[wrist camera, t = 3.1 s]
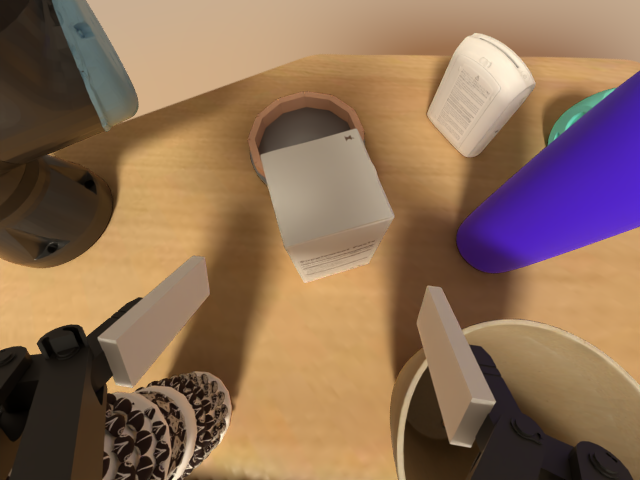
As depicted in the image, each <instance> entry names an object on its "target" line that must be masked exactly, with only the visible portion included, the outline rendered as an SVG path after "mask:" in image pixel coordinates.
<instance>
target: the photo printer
mask: <svg viewBox="0 0 640 480" xmlns="http://www.w3.org/2000/svg"><path fill="white" fill-rule="evenodd" d="M535 85H536V83H535V81H534V78H533V76H532V74H531V72H530V71H529V69H528V68H527V66H526V65H525V63H524V62H523V61H522V60H521V59H520V58H519V57H518V55H517V54H516V53H515V52H513V51H512V50H511V49H510V48H509V47H507V46H506V45H504V44H503V43H501V42H500V41H498V40H496V39H494V38H492V37H490V36H487V35H483V34H479V33H474V34H473V35H471V36H468V37H466V38H465V39H464V40H463V42H462V43H461V44H460V45H459V46H458V48H457V49H456V51H455V52H454V54H453V56H452V58H451V60H450V63H449V65H448V67H447V69H446V72H445V74H444V76H443V78H442V81H441V83H440V85H439V87H438V90H437V92H436V94H435V96H434V98H433V101H432V103H431V105H430V107H429V110H428V112H427V116H428V118H429V120H430V121H431V122H432V123H433V124H434V126H435V127H436V128H437V129H438V130H439V131H440V132H441V133H442V134H443V136H444V137H445V138H446V139H447V140H448V141H449V142H450V143H451V144H452V145H453V146H454V147H455V148H456V149H457V150H458V151H459V152H460V153H461V154H462V155H463V156H465V157H475V156H477V155H479V154H480V153H481V152H482V151H483V150H484V149H485V147H486V146H487V145H488V144H489V143H490V141H491V140H492V139H493V138H494V137H495V136H496V134H497V133H498V132H499V131H500V130H501V129H502V127H503V126H504V125H505V124H506V123H507V121H508V120H509V119H510V118H511V117H512V115H513V114H514V113H515V112H516V111H517V110H518V108H519V107H520V106H521V105H522V104H523V102H524V101H525V100H526V98H527V97H528V96H529V94H530V93H531V92H532V91H533V89H534V87H535Z"/></svg>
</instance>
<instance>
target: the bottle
mask: <svg viewBox="0 0 640 480" xmlns="http://www.w3.org/2000/svg"><path fill="white" fill-rule="evenodd" d="M637 227H640V71H639V72H637V73H636V74H635V75H633V76H632V77H631V78H629V79H628V80H627V81H625V82H624V83H623V84H621V85H620V86H619V87H617V88H616V89H615V90H614V91H613V92H611V93H610V94H609V95H608V96H606V97H605V98H604V99H603V100H601V101H600V102H599V103H598V104H597V105H595V106H594V107H593V108H592V109H590V110H589V111H588V112H587V113H586V114H584V115H583V116H582V117H581V118H580V119H578V120H577V121H576V122H575V123H574V124H573V125H571V126H570V127H569V128H568V129H567V130H565V131H564V132H563V133H562V134H561V135H560V136H558V137H557V138H556V139H555V140H554V141H553V142H551V143H550V144H549V145H548V146H547V147H545V148H544V149H543V150H542V151H541V152H540V153H539V154H537V155H536V156H535V157H534V158H533V159H532V160H530V161H529V162H528V163H527V164H526V165H525V166H524V167H522V168H521V169H520V170H519V171H518V172H517V173H516V174H514V175H513V176H512V177H511V178H510V179H509V180H508V181H506V182H505V183H504V184H503V185H502V186H501V187H500V188H499V189H497V190H496V191H495V192H494V193H493V194H492V195H491V196H490V197H488V198H487V199H486V200H485V201H484V202H483V203H482V204H481V205H480V206H479V207H477V208H476V209H475V210H474V211H473V212H472V213H471V214H470V215H469V216H468V217H467V218H466V219H465V220H464V221H463V223H462V224H461V226H460V227H459V229H458V232H457V236H456V242H457V246H458V249H459V252H460V254H461V255H462V257H463V258H464V259H465V260H466V261H467V262H468V263H469V264H470V265H471V266H473V267H474V268H476V269H478V270H480V271H483V272H487V273H502V272H507V271H511V270H515V269H518V268H522V267H525V266H528V265H531V264H534V263H537V262H540V261H543V260H546V259H549V258H552V257H555V256H558V255H560V254H563V253H566V252H569V251H572V250H575V249H578V248H581V247H584V246H586V245H589V244H592V243H595V242H598V241H601V240H603V239H606V238H609V237H612V236H615V235H617V234H620V233H623V232H626V231H629V230H632V229H634V228H637Z"/></svg>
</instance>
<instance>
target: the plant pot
mask: <svg viewBox="0 0 640 480" xmlns="http://www.w3.org/2000/svg"><path fill="white" fill-rule="evenodd" d="M461 330H462V332H463V334H464V336H465V338H466V340H467V342H468V344H469V345H476V346H481V347H482V348H483V349H484V350H485V351H486V352H487V353H488V354H489V355H490V356H491V357H492V359H493V361H494V363H495V365H496V368H497V369H498V370H499V372H500V374H501V377H502V378H503V379H504V381H505V383H506V385H507V387H508V389H509V390H510V392H511V394H512V396H513V398H514V400H515V401H516V403H517V405H518V407H519V409H520V411H521V412H522V413H523V414H525V415H527V416H529V417H530V418H531V419H532V420H534V421H535V422H536V423H537V424H538V425H539V427H540V428H541V429H542V430H543V432H544V433H545V434H547V435H548V436H550V437H553V438H555V439H557V440H559V441H562V442H564V443H566V444H568V445H571V446H573V447H575V446H576V445H577V444H578V443H579V442H581V441H589V442H592V443H595V444H597V445H600V446H601V447H603V448H604V449H606V450H608V451H609V452H611V453H612V454H613V455H614V456H615V457H616V458H618V459H619V460H620V461H621V462H622V463H623V465H624V466H625V467H626V468H627V469H628V470H629V472H630V474H631V476H632V478H633V480H640V385H639V384H638V383H637V382H636V381H635V380H634V379H633V378H632V377H631V376H630V375H629V374H628V373H627V372H626V371H625V370H624V369H623V368H622V367H621V366H620V365H619V364H617V363H616V362H615V361H614V360H613V359H611V358H610V357H609V356H608V355H606V354H605V353H604V352H602V351H601V350H599V349H598V348H597V347H595V346H593V345H592V344H590V343H589V342H587V341H585V340H583V339H581V338H579V337H577V336H576V335H574V334H571V333H569V332H567V331H564V330H562V329H560V328H557V327H554V326H551V325H547V324H544V323H540V322H535V321H530V320H523V319H501V320H491V321H486V322H482V323H478V324H475V325H472V326H469V327H466V328H463V329H461ZM442 422H443V418H442V414H441V410H440V407H439V403H438V399H437V396H436V392H435V389H434V385H433V381H432V378H431V374H430V371H429V367H428V363H427V360H426V356H425V352H424V349H423V348H422V349H420V350H419V351H418V352H417V353H415V354H414V355H413V356H412V357H411V358H410V359H409V360H408V361H407V363H406V364H405V365H404V366H403V368H402V369H401V371H400V373H399V375H398V377H397V379H396V382H395V384H394V388H393V392H392V397H391V406H390V429H391V440H392V448H393V455H394V461H395V466H396V471H397V477H398V480H466V478H467V475H468V473H469V471H470V469H471V467H472V466H471V465H472V464H473V462H474V460H475V458H476V457H477V455H478V453H479V452H480V449H479V447H478V444H477V441H476V439H475V441H474V442H473V444H472V446H471V448H469V447H464V446H458V445H452V444H450V443H449V439H448V436H447V432H446V428H445V426H444V425H443V423H442Z"/></svg>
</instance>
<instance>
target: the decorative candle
mask: <svg viewBox="0 0 640 480" xmlns="http://www.w3.org/2000/svg"><path fill="white" fill-rule="evenodd" d="M231 412H232V405H231V400H230V395H229V391H228V390H227V388H226V387H225V385H224V384H223V382H222V381H221V379H219V378H218V377H216V376H214V375H213V374H211V373H209V372H199V371H194V372H191V373H188V374H184V373H183V374H180V375H179V377H178V376H177V375H175V376H172V377H171V378H170V380H169V379H167V378H166V379H162V380H160V381H153V382H151V383H149V384H148V386H147V387H146V388H144V387H140V388H138V389H137V390H136V391H135V392H133V393H126V392H115V393H112V394H110V393H107V404H106V421H105V438H104V455H103V473H102V480H183V479H184V477H186V476H188V475H189V474H190V473H191V472H192V470H193V469H195V468H196V467H198V466H199V465H200V464H201V463H202V461H203V460H205V459H206V458H207V457H208V456H209V454H210V453H211V451H212V450H213V449H215V448H216V447H217V446H218V444H220V443H221V441H222V439H223V437H224V435H225V433H226V431H227V430H228V428H229V426H230V419H231ZM11 471H12V470H11ZM11 471H10V473H9V475H8V477H7V478H6V480H9V478H10V474H11Z"/></svg>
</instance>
